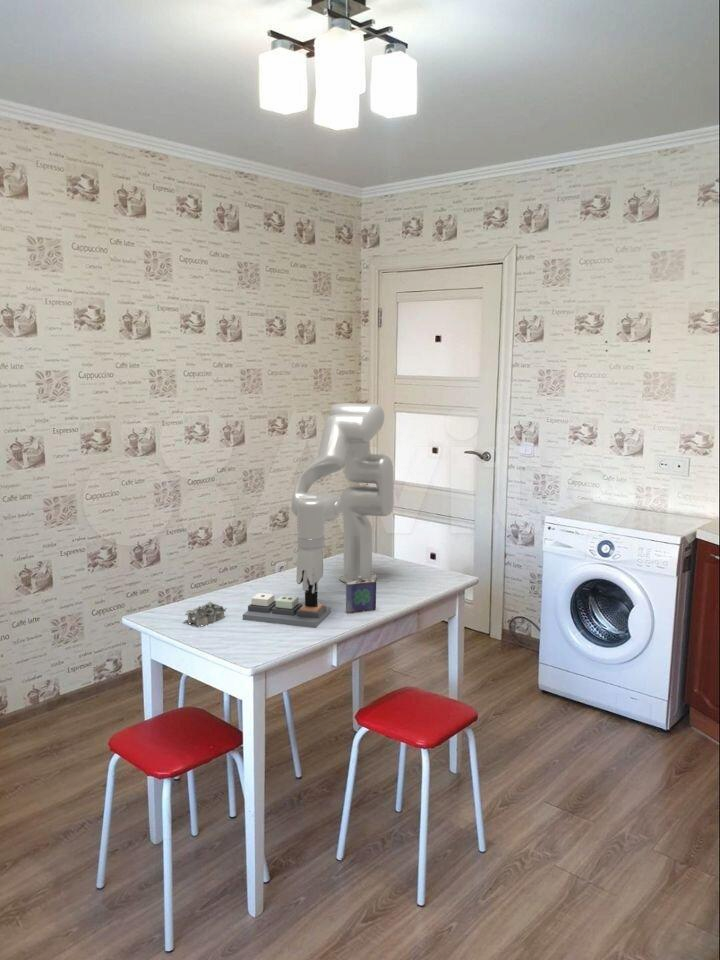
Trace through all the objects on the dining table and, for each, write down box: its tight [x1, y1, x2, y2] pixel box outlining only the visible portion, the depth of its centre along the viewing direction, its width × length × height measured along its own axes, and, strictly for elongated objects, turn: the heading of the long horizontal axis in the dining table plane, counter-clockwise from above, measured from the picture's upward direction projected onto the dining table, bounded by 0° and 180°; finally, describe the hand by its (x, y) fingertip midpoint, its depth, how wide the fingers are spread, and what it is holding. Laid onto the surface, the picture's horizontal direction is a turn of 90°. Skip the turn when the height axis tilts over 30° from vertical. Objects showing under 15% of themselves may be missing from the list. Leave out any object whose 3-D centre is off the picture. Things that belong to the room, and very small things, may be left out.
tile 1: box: [250, 592, 276, 606], centre depth 219 cm, size 5×5×2 cm
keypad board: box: [242, 600, 332, 629], centre depth 218 cm, size 13×22×3 cm, turn 73°
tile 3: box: [300, 603, 324, 613], centre depth 215 cm, size 5×5×2 cm
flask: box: [345, 575, 377, 614], centre depth 222 cm, size 9×3×11 cm, turn 109°
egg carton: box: [184, 601, 228, 627], centre depth 215 cm, size 11×8×4 cm
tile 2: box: [275, 595, 299, 609], centre depth 217 cm, size 5×5×2 cm
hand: (311, 605), depth 215 cm, fingers closed
